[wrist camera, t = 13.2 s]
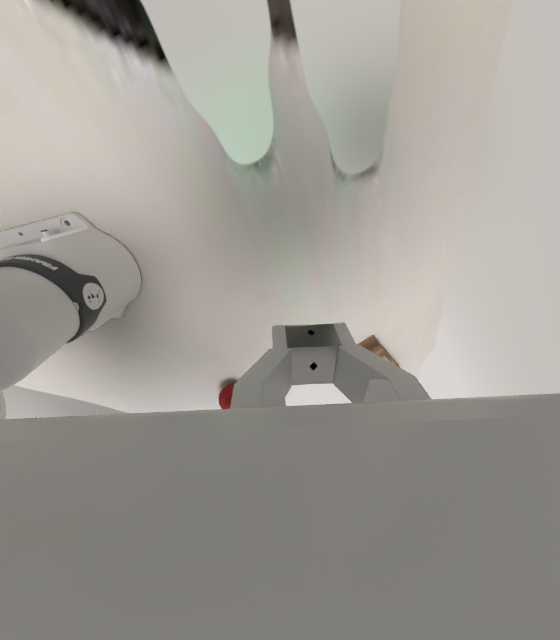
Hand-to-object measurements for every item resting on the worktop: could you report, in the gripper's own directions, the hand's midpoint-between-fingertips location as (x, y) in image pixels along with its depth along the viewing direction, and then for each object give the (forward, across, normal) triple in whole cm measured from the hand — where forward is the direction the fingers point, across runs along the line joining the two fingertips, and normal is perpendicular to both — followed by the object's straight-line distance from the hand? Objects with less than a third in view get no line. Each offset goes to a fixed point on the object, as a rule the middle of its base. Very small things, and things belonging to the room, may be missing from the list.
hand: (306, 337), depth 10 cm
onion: (+34, +12, +38) cm, 52 cm away
